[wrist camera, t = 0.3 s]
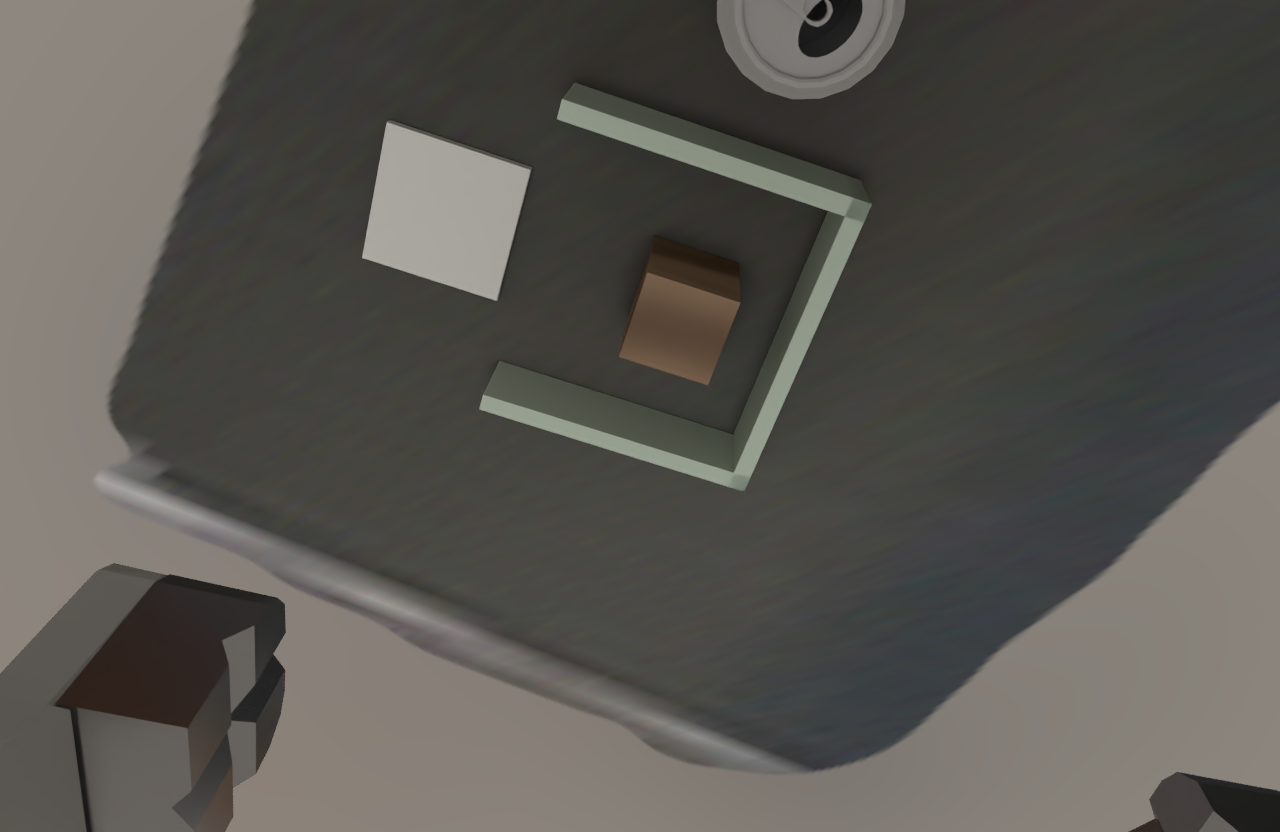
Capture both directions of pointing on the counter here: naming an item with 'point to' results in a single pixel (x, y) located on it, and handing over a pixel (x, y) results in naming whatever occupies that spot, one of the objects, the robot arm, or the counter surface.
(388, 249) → the coaster
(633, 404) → the pale green frame
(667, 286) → the block
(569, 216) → the counter surface
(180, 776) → the robot arm
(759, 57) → the can
